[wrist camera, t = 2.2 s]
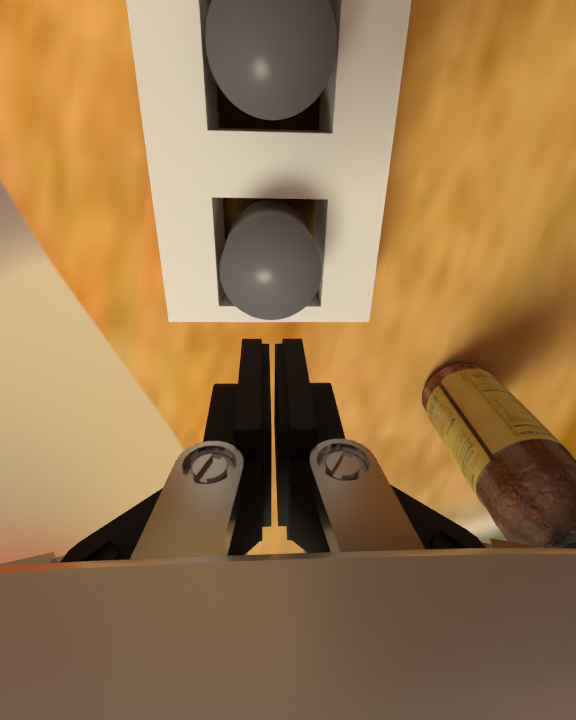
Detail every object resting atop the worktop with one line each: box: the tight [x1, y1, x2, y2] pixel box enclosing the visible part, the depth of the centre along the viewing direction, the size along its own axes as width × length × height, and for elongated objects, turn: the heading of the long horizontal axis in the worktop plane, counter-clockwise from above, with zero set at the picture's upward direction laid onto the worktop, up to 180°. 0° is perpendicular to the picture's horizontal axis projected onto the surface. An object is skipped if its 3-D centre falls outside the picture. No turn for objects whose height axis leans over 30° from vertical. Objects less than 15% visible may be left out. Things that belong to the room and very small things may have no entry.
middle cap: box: [205, 0, 337, 120], centre depth 18 cm, size 5×5×6 cm
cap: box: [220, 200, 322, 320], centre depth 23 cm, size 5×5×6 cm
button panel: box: [126, 0, 412, 322], centre depth 21 cm, size 12×26×6 cm, turn 179°
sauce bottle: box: [422, 363, 576, 549], centre depth 27 cm, size 7×6×20 cm
